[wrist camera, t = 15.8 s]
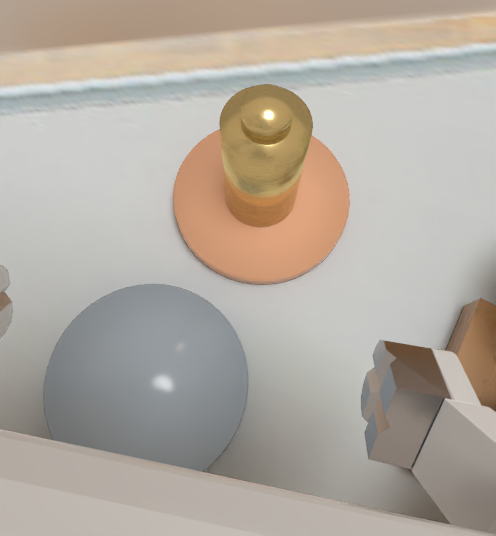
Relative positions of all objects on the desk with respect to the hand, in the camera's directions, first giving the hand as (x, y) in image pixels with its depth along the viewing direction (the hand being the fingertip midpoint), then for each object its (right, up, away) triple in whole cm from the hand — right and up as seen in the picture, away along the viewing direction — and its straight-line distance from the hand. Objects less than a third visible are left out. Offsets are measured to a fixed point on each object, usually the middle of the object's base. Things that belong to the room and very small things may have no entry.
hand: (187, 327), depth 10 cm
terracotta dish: (+2, +6, +19) cm, 20 cm away
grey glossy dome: (-4, -5, +16) cm, 17 cm away
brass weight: (+2, +6, +18) cm, 19 cm away
